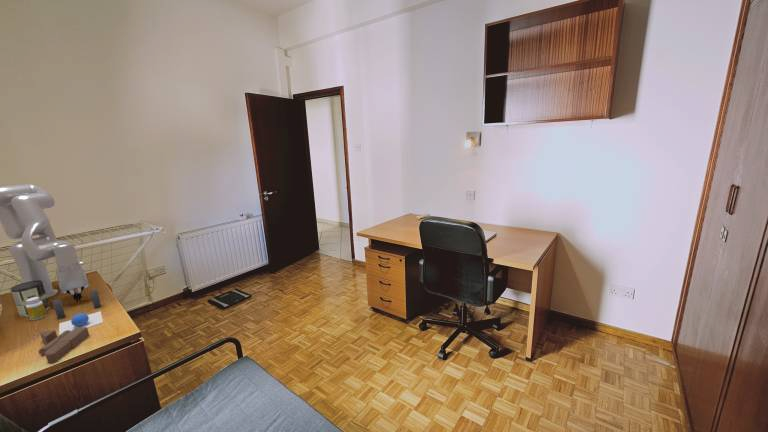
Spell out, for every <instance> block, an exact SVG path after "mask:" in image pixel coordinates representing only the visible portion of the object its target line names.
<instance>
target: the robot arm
mask: <svg viewBox="0 0 768 432" xmlns="http://www.w3.org/2000/svg"><path fill="white" fill-rule="evenodd" d="M55 201H56V200H55V198H54V197H53V196H52V194H50V193H49V192H48V191H46V190H45V189H43V188H41V187H39V186H38V185H36V184H32V183H24V184H23V183H22V184H13V185H3V186H2V185H1V186H0V224H1V226H2V229H3V231H4V233H5V234H6V236H7V237H8V238H10V239H11V240H19V239H21V240H19V241H17V242H14V243H12V244H11V245H10V246H9V248H8V252H9V254H10V256H11V257H12V259H13V261H14V263H15V264H16V265H15V266H16V267H17V271H18V274H19V276H20V279H21V281H22V283H25V282H29V281H36V280H41V281H42V282H43V286H44V289H45V293H46V296H47V299H48V298H52V297H54V296H56V295H57V294H58V293H60V294H69V295H72V298H73V301H76V302H75V303H77V302H81V301H82V298H83V296H82V292H83V290H85V289H86V288H89V287H90V283H89V281H88V277H87V274H86V272H85V270H84V267H83V266H82V265H84V262H83V261H79V258H78V254H77V250H76V248H75V245H74V243H73V242H70V241H69V242H67V241H65V240H63V239H62V240H61V239H60V240H58V239H57V237H56V234H55V232H54V230H53V228H52V225H51V223H50V218H49V217H48V215H47V214H46V212H45V211H44V210H45V209H50V208H53V207H54V206H55V205H56V204H55V203H56V202H55ZM34 236H37V237H34ZM52 258H54V260H55V262H56V266H57V272H56V278H57V284H58V287H59V290H60V291H59V290H58V289H57V288H53V285H52V282H51V281H52V280H51V278H50V275H49V271H48V269H47V265H46V262H44V261H47V260H49V259H52ZM74 289H77V291H75V290H74Z"/></svg>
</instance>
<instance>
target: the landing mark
mask: <svg viewBox="0 0 768 432" xmlns="http://www.w3.org/2000/svg"><path fill="white" fill-rule="evenodd" d="M87 315H88V317H89V320H88V322H87V323H86V324H85V325H83V326H79V327H77V326H74V325H72V323H71V320H72V319H70V320H66V321H63V322H60V323H58V324H59V326H58V328H59V329H58V336H59V335H60V334H62V333H63V332H64V331H67V330H69V331H72V330H73V329H75V328H83V327H87V328H88V329H89V328H91V327H94V326H97V325H102V324H103V323H104V320H103V316H102V312H101V310H100V311H97V312H94V313H89V314H87Z"/></svg>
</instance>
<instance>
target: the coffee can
mask: <svg viewBox="0 0 768 432" xmlns="http://www.w3.org/2000/svg"><path fill="white" fill-rule="evenodd" d="M9 290H10V291H11V294H12V296H13V299H14V303H15V306H16V308H17V311H18V314H19V316H20V317H29V316H28V312H27V309H26V305H27V302H26V300H27V299H29V298H33V297H39V301H42V302H43V305H44V308H45V311H48V310H49V309H51V305H50V302H49V299H48V298H47V296H46V293H45V289H44V286H43V282H42V281H41V280H36V281H29V282H25V283H23V282H22V283H18V284H16V285H13V286H12V287H10V288H9Z"/></svg>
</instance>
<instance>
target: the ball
mask: <svg viewBox="0 0 768 432" xmlns="http://www.w3.org/2000/svg"><path fill="white" fill-rule="evenodd" d="M88 315H89V314H87V313H84V312H82V313H76V314H75V315H73V317H72V318H71V319H70V320H71V323H72V325H74V326H77V327H79V326H83V325H85V324H86V323H87V322H88V320H89V317H88Z"/></svg>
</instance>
